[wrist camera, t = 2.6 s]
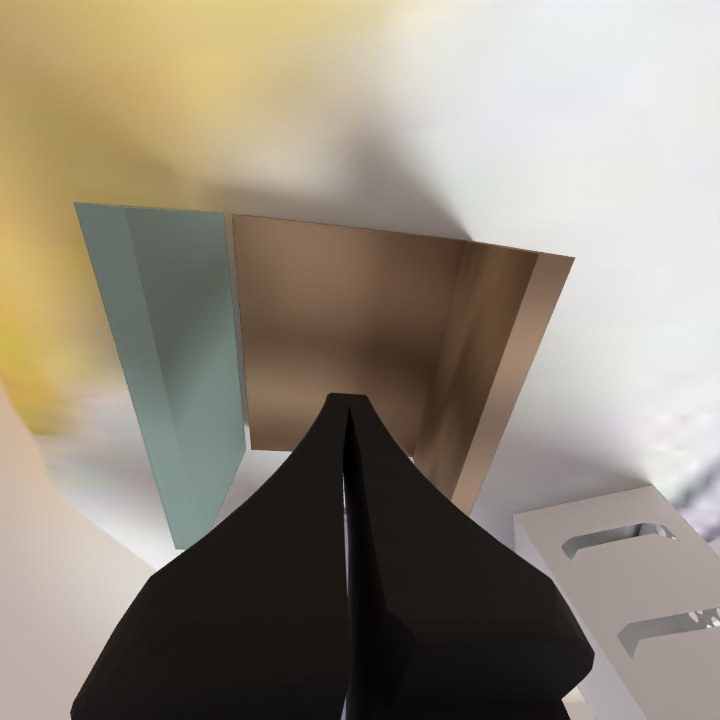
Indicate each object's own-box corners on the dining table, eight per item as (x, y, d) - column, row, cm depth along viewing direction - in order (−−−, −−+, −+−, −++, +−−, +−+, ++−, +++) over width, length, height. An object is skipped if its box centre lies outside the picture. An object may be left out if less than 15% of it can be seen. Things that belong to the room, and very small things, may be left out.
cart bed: (422, 440, 18) (458, 541, 13) (258, 432, 18) (215, 537, 12) (474, 241, 13) (575, 257, 7) (244, 215, 12) (153, 210, 7)
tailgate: (245, 449, 16) (202, 549, 11) (222, 448, 16) (167, 549, 11) (223, 213, 11) (124, 208, 6) (188, 209, 11) (57, 200, 6)
